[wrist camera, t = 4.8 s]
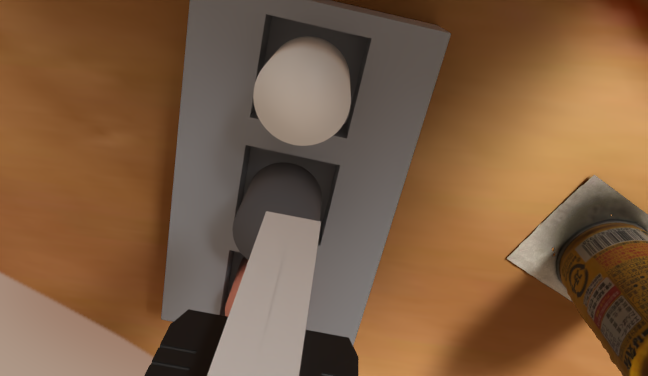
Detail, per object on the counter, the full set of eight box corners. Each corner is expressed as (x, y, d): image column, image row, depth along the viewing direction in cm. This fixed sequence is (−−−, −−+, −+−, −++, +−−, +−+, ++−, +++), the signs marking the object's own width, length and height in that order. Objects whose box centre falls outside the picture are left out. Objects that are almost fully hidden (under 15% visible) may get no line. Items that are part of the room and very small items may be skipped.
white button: (275, 27, 22) (261, 39, 19) (358, 46, 22) (361, 61, 19) (261, 109, 24) (246, 134, 20) (339, 126, 24) (338, 154, 21)
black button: (254, 155, 25) (238, 186, 21) (328, 171, 25) (326, 205, 22) (243, 220, 27) (227, 260, 23) (313, 235, 27) (308, 277, 23)
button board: (212, -28, 25) (192, -27, 21) (437, 25, 25) (451, 33, 22) (179, 284, 33) (161, 319, 30) (349, 318, 34) (349, 355, 30)
